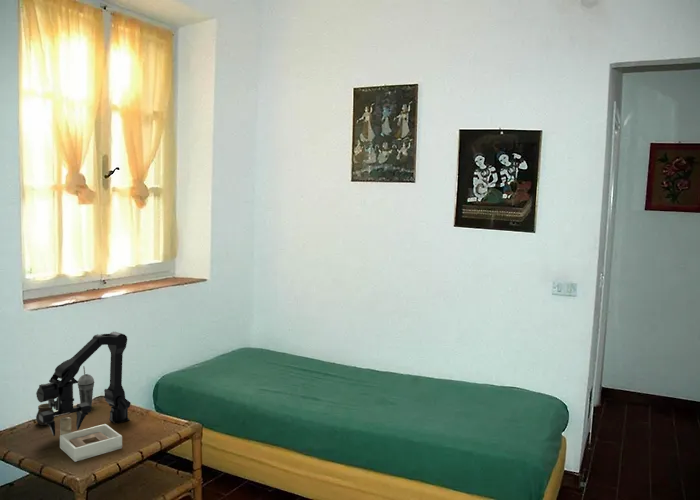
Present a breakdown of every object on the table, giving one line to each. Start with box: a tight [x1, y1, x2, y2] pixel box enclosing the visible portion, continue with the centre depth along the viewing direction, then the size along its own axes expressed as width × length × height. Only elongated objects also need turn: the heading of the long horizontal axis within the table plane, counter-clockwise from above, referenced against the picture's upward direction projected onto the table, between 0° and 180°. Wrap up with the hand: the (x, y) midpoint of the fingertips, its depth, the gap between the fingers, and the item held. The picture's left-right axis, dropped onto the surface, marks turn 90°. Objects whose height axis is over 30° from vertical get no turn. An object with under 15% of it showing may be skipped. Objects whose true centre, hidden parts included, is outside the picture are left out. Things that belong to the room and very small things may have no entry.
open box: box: [59, 423, 123, 462], centre depth 229 cm, size 18×16×5 cm
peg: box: [59, 416, 72, 436], centre depth 238 cm, size 4×4×8 cm
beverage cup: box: [77, 365, 95, 408], centre depth 271 cm, size 7×7×20 cm
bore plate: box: [70, 432, 109, 448], centre depth 229 cm, size 12×12×2 cm
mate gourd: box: [35, 402, 55, 426], centre depth 251 cm, size 7×8×10 cm
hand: (65, 432), depth 238 cm, fingers open, 9 cm apart
